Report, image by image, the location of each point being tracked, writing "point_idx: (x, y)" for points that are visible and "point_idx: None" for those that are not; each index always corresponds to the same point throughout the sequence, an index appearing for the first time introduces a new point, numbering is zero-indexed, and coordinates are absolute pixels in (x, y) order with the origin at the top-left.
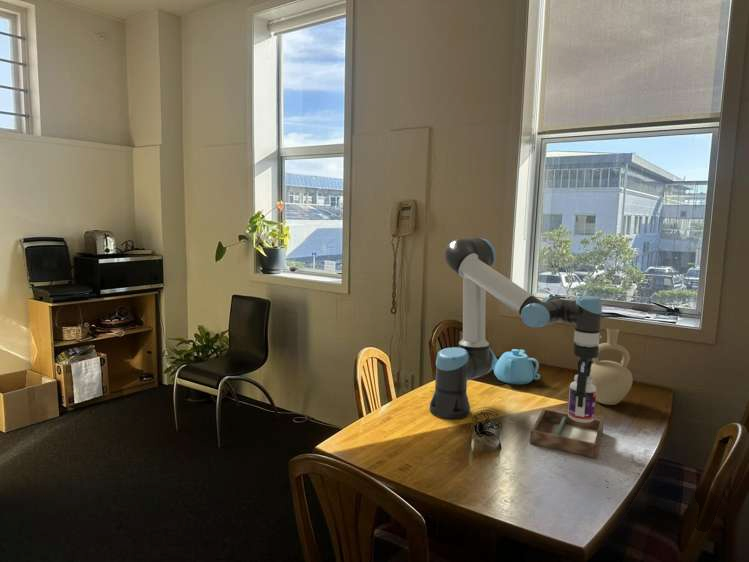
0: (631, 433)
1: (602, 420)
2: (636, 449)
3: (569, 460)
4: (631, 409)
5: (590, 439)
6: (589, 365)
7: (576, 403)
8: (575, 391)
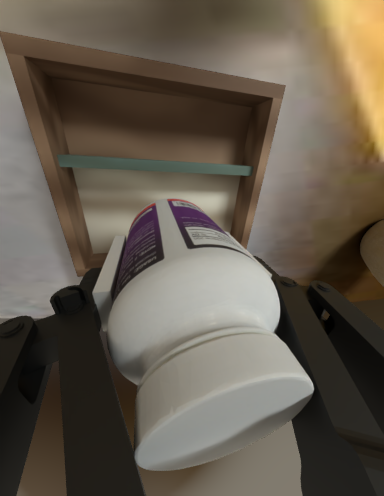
0: None
1: None
2: None
3: (26, 208)
4: (342, 271)
5: None
6: None
7: (104, 266)
8: (114, 298)
